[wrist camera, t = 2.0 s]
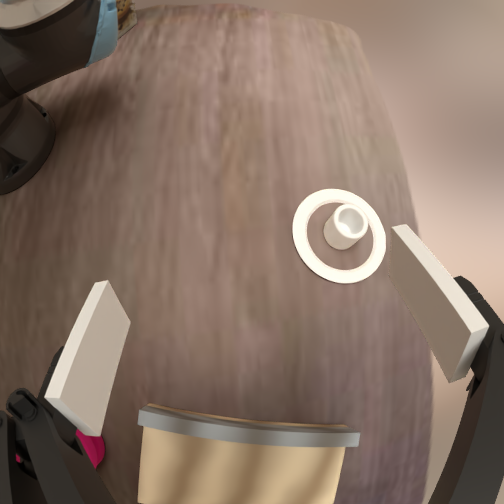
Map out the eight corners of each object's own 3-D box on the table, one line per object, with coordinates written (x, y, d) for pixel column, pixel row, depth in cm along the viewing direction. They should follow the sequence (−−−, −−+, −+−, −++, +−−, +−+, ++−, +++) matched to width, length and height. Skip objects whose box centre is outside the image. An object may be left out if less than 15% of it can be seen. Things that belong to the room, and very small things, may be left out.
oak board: (140, 497, 25) (131, 513, 21) (149, 403, 29) (139, 409, 25) (325, 513, 27) (338, 529, 22) (343, 424, 30) (360, 432, 26)
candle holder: (398, 242, 38) (415, 229, 34) (341, 306, 35) (356, 299, 31) (335, 175, 40) (346, 157, 36) (270, 229, 37) (276, 213, 33)
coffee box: (110, 46, 45) (95, -24, 30) (86, 44, 45) (69, -21, 30) (139, 22, 48) (130, -43, 33) (115, 20, 48) (104, -41, 33)
